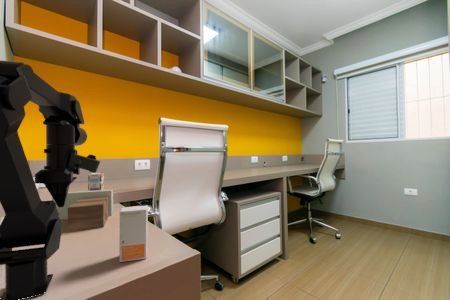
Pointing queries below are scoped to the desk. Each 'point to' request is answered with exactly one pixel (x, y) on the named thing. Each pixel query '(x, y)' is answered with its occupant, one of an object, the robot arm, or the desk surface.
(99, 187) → the candy bar box
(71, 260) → the desk surface
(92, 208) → the walnut block
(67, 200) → the sage board
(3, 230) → the robot arm
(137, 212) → the skincare box
